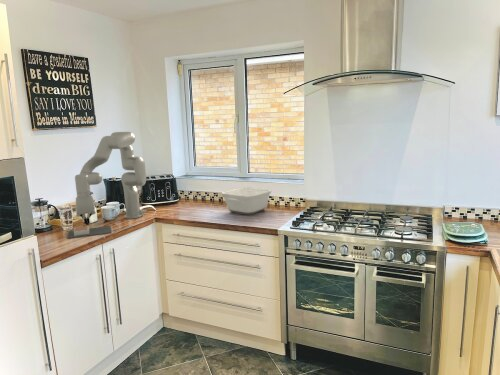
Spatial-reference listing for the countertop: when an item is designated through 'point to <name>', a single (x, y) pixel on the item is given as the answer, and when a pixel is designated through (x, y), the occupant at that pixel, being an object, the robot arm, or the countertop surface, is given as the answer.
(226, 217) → the countertop surface
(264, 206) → the white plastic tub
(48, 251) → the countertop surface
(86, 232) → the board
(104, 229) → the mat
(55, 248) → the countertop surface
